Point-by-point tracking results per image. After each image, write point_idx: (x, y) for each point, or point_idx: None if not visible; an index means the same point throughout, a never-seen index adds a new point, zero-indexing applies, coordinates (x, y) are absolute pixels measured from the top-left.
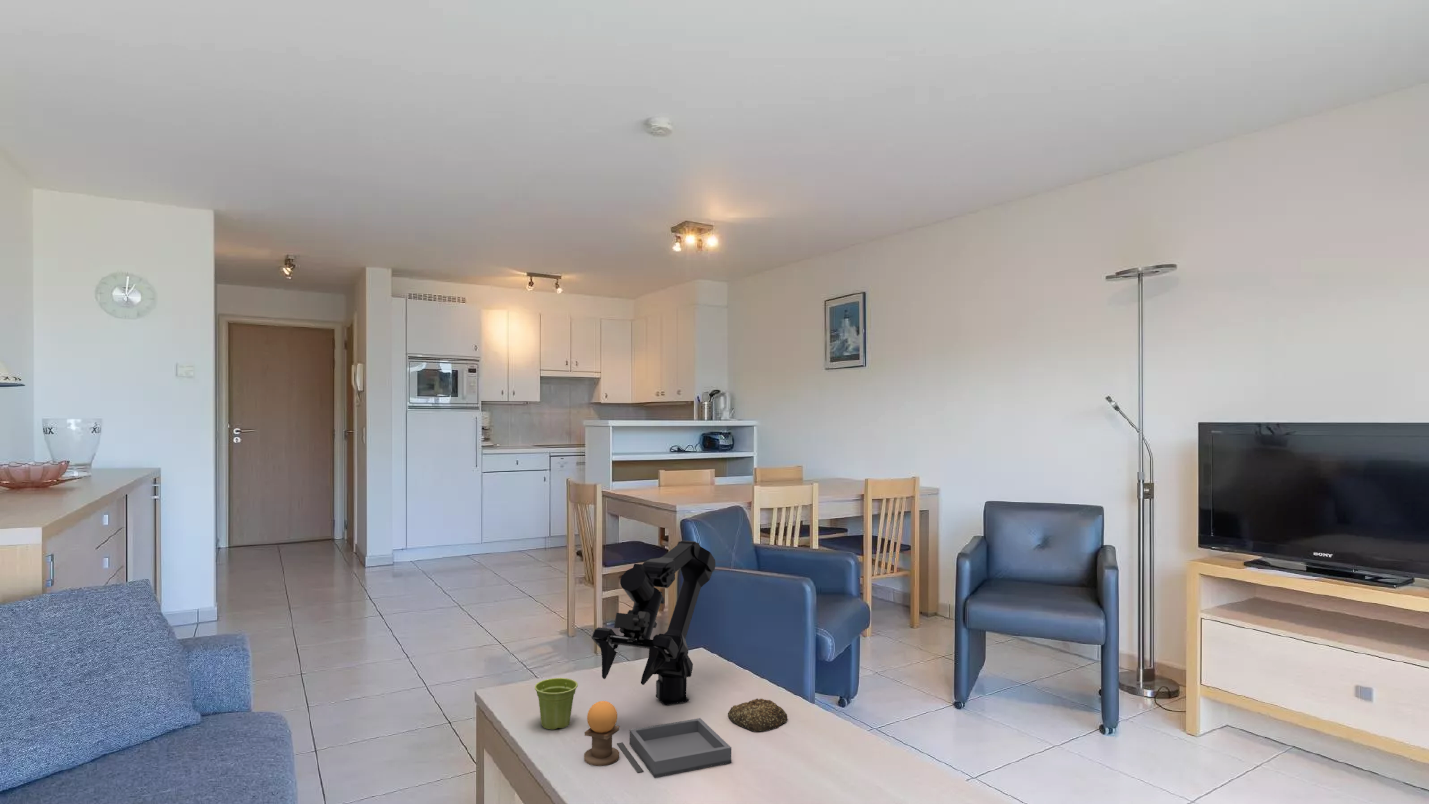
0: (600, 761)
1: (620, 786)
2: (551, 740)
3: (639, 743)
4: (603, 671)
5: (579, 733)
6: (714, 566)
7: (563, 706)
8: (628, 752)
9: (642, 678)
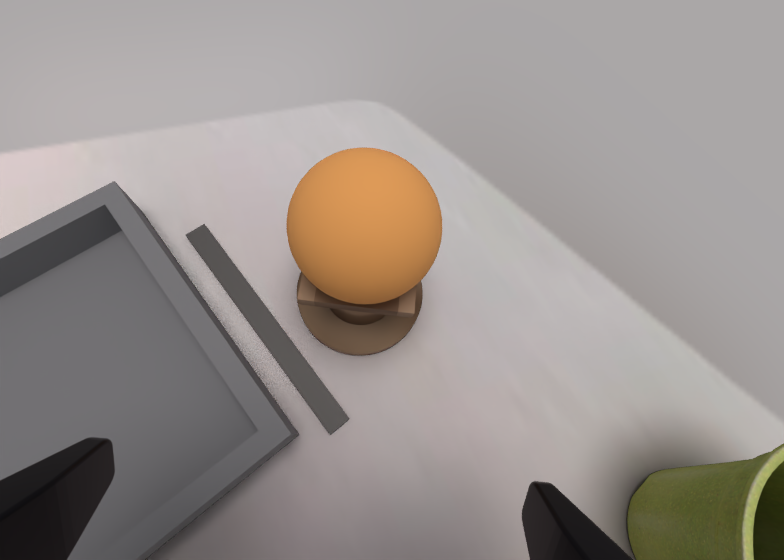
0: None
1: (238, 149)
2: (597, 379)
3: (211, 318)
4: (571, 517)
5: (540, 475)
6: None
7: (696, 500)
8: (277, 351)
9: (67, 460)
